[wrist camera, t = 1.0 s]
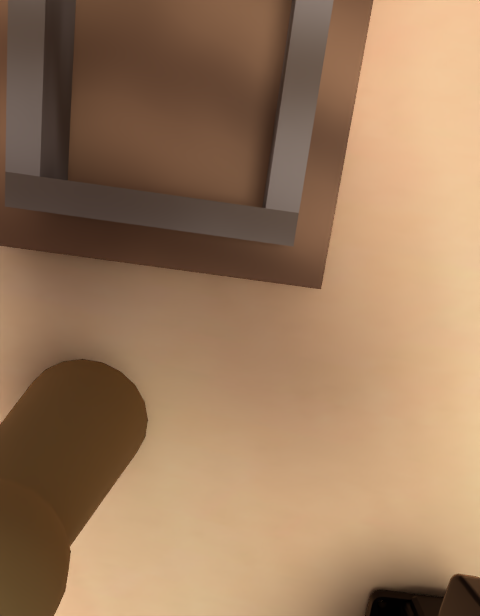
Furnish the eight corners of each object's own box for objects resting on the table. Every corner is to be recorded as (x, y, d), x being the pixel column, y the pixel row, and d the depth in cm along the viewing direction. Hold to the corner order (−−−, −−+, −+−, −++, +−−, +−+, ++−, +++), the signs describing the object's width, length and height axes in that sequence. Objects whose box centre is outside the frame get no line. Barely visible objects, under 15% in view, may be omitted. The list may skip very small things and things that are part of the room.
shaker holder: (316, 285, 20) (332, 301, 16) (5, 242, 19) (-46, 249, 16) (381, -74, 16) (418, -149, 13) (11, -135, 16) (-51, -227, 13)
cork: (-3, 402, 21) (-261, 608, 10) (95, 335, 20) (-70, 479, 9) (76, 493, 22) (-80, 765, 11) (172, 432, 21) (103, 662, 10)
